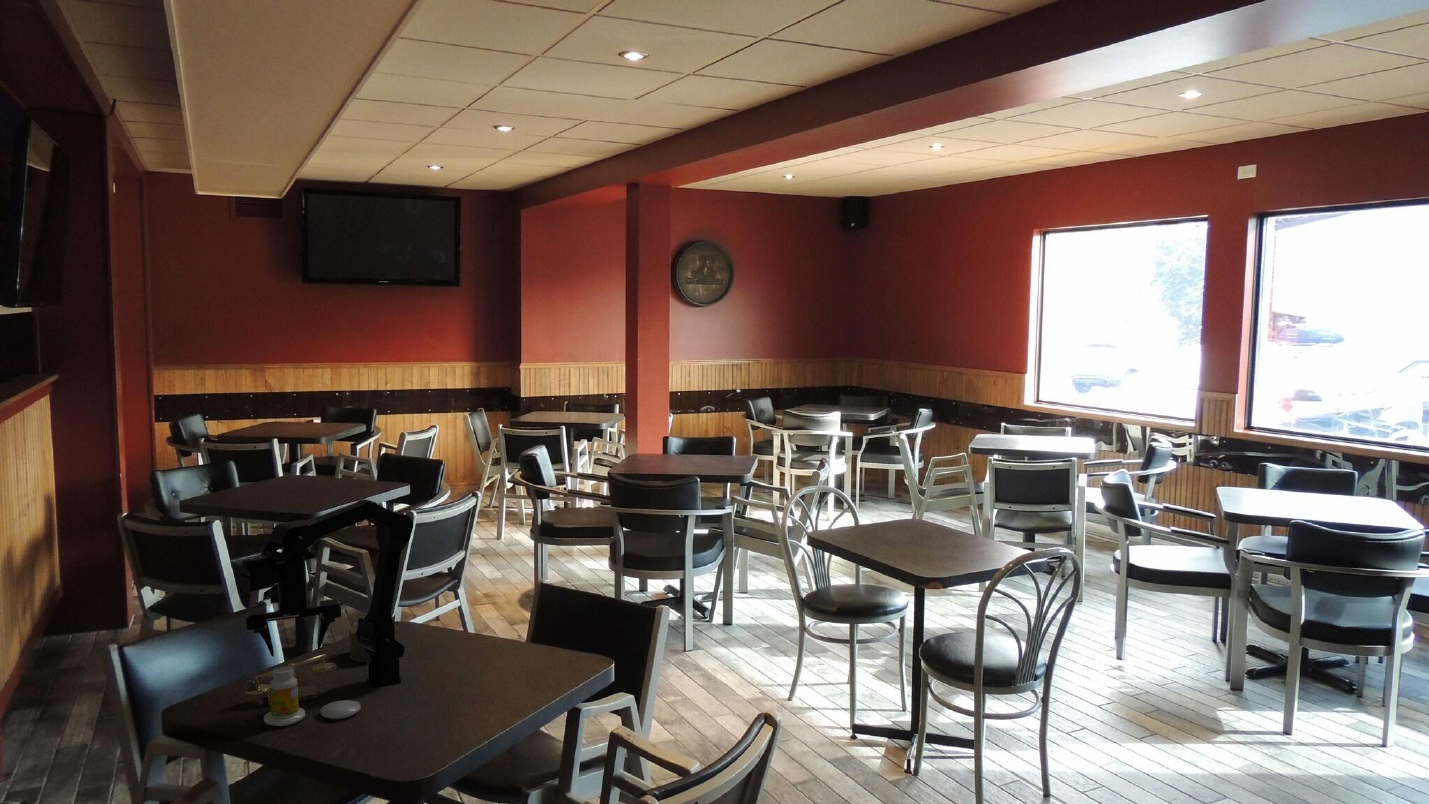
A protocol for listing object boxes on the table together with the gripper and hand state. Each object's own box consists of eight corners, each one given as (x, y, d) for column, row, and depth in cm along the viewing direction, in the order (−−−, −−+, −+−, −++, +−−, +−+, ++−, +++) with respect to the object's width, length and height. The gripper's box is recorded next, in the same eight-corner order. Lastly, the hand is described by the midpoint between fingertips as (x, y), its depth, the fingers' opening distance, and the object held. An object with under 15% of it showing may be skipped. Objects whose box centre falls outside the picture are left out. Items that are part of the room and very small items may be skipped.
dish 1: (304, 710, 218) (304, 704, 218) (306, 724, 211) (306, 718, 211) (263, 716, 215) (263, 710, 215) (264, 730, 208) (264, 724, 207)
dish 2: (358, 703, 222) (358, 698, 222) (362, 717, 215) (362, 711, 214) (319, 709, 218) (319, 704, 218) (322, 723, 211) (321, 717, 211)
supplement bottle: (265, 718, 211) (263, 673, 210) (281, 708, 216) (279, 664, 215) (288, 720, 210) (286, 675, 209) (303, 710, 215) (301, 665, 214)
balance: (336, 686, 232) (334, 648, 231) (338, 695, 227) (336, 656, 226) (246, 699, 224) (244, 660, 223) (246, 709, 219) (244, 669, 218)
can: (409, 648, 258) (408, 622, 257) (383, 664, 246) (382, 637, 246) (366, 644, 261) (366, 618, 260) (339, 660, 249) (338, 633, 249)
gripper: (334, 567, 228) (337, 634, 230) (243, 578, 220) (247, 648, 222) (339, 580, 218) (343, 650, 220) (244, 591, 210) (248, 664, 212)
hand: (295, 652), depth 218 cm, fingers open, 9 cm apart
